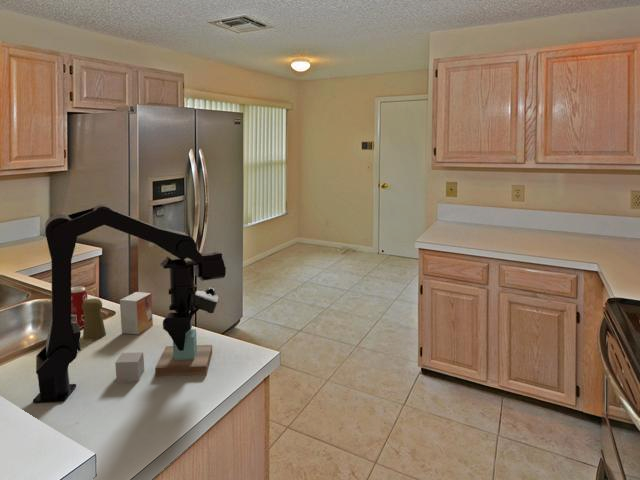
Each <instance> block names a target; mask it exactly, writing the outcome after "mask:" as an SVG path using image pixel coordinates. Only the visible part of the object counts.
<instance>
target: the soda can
mask: <svg viewBox="0 0 640 480" xmlns="http://www.w3.org/2000/svg"><path fill="white" fill-rule="evenodd" d="M88 299H89V298H88V290H87V289H86V287H85V286H83V285H82V286H80V285H79V286H71V322H72V325H74V324H79V328H80V327H84V314H85V312H84V311H83V309H82V303H83V302H84V301H85V300H88ZM80 329H81V328H80Z"/></svg>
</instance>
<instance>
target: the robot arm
mask: <svg viewBox="0 0 640 480" xmlns="http://www.w3.org/2000/svg"><path fill="white" fill-rule="evenodd" d="M44 225H45V226H44V232H45V238H46V242H47V247H48V251H49V256H50V261H51V262H50V263H51V270H50V271H51V272H50V273H51V277H50V278H51V320H50V323H49V328H48V333H47V337H46V342H45V346H44V347H43V348H42V349H41V350H40V351H39V352H38V353H37V354H36V357H35V373H36V375H37V381H38V390H39V393H38V394H36V396H35V397H34V398H33V399H32V402H33V403H34V404H35V403H38V404H39V403H53V402H55V403H57V402H65V401H66V400H67V399H68V398H69V396H70V395H71V394H72V393H73V391H74V390H75V389H76V387H77V384H76V383H70V375H69V365H70V364H71V363H73V361H74V360H76V358H77V356H78V351H80V352H81V351H82V347H81V343H80V340H81V334H82V333H81V328H79V324H74V325H72V322H71V288H72V259H73V256H74V252H75V248H76V243H77V239H78V237H79V236H83V235H84V234H87V233H89V232H92V231H94V230H97V229H98V228H99V227H102V226H107V227H110V228H112V229H115V230H118V231H120V232H123V233H125V234H129V235H131V236H134V237H136V238H138V239H142V240H144V241H147V242H150V243H152V244H154V245H156V246H158V247H159V248H161V249H162V250H164V251H166V252H168V253H169V254H171V255H173V256H174V257H175V258H173V259H171V258H170V256H166V257H165V259H164V260H163V261H162V262H160V266H161V267H162V268H163V269H166V270H167V269H169V287H170V288H169V289H168V295H170V305H169V307H168V308H169V311H174V312H168V313H167V314H166V316H165V317H164V319H163V320H162V329H163V330H164V331H165V332H166V333H167V334H168V335H169V337H170V338H171V340H172V342H173V341H174V343H175V345H176V346H177V348H178V350H179V351H183V350H184V346H185V339H186V332H187V331H189V330H190V329H193V328H192V327H193V325H194V322H193V321H194V317H195V316H194V315H195V314H196V313H197V312H198V311H199V310H201V311H205V312H206V313H208V314H214V312H215V310H216V307H217V304H218V301H219V295H217V294H216V290H215V288H213V287H208V288H207V289H206V290H205V291H204V290H198V285H196V284H197V283H195V277H196V278H197V279H198V278H199V279H200V281H201V282H204V281H212V280H220V279H224V278H225V277H226V273H227V272H226V271H227V268H226V265H225V261H224V259H223V253H221V252H220V251H214V252H211V253H201V252H199V250H198V249H197V248H196V247H197V246H196V242H195V239H194V238H193V237H192V236H190V235H188V234H187V233H185V232H182V231H180V230H174V229H171V228H163V227H158V226H155V225H153V224H151V223H148V222H145V221H142V220H141V219H137V218H135V217H132V216H129V215H127V214H125V213H123V212H120V211H118V210H115V209H113V208H110V207H109V206H107V205H105V204H98V205H96V206H94V207H91V208H88V209H83V210H80V211H77V212H73V213H71V214H68V215H66V214H63V213H59V214H54V215H52V216H50V217H49V218H47V220H46V221H45V224H44ZM186 259H190V260H186Z"/></svg>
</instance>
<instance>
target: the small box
mask: <svg viewBox="0 0 640 480" xmlns="http://www.w3.org/2000/svg"><path fill="white" fill-rule="evenodd" d="M152 303H153V298H152V293H150V292H141V291H135V292H132V294H129V295H127V296H125V297H123V298H121V299H119V310H120V311H119V312H120V326H121V333H122V334H128V335H140V334H141V333H144V331H146V330H147V329H149V328H151V327H152V326H153V325H154V324H153V323H154V322H153V321H154V320H153V304H152Z"/></svg>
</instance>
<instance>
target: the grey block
mask: <svg viewBox="0 0 640 480" xmlns="http://www.w3.org/2000/svg"><path fill="white" fill-rule="evenodd" d="M144 372H145V359H144V352H143V351H142V352H140V351H139V352H137V351H136V352H121V353H120V355H119V356H118V358H117V359H116V361H115V375H116V383H123V382H125V383H126V382H127V383H128V382H140V380H141V378H142V377H143V374H144Z"/></svg>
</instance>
